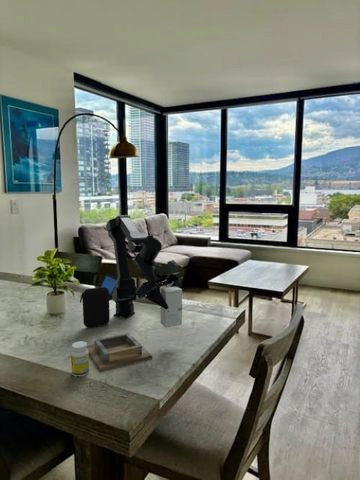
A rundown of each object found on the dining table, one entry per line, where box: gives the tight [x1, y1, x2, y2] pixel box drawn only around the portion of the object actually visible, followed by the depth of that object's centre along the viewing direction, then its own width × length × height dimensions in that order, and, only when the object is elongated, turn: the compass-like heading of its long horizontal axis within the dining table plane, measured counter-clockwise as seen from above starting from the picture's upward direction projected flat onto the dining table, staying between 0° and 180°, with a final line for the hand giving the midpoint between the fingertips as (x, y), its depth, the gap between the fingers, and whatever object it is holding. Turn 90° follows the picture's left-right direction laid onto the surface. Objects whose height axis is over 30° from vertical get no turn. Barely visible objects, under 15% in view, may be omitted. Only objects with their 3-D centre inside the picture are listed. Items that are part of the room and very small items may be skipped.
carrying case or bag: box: [79, 287, 111, 329], centre depth 132 cm, size 11×3×15 cm, turn 115°
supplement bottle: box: [70, 340, 90, 377], centre depth 99 cm, size 5×5×8 cm
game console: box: [81, 273, 118, 301], centre depth 169 cm, size 16×14×9 cm
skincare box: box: [160, 287, 183, 328], centre depth 117 cm, size 6×4×12 cm
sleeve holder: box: [87, 332, 153, 372], centre depth 111 cm, size 16×16×4 cm
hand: (174, 305), depth 116 cm, fingers closed on skincare box, 7 cm apart
